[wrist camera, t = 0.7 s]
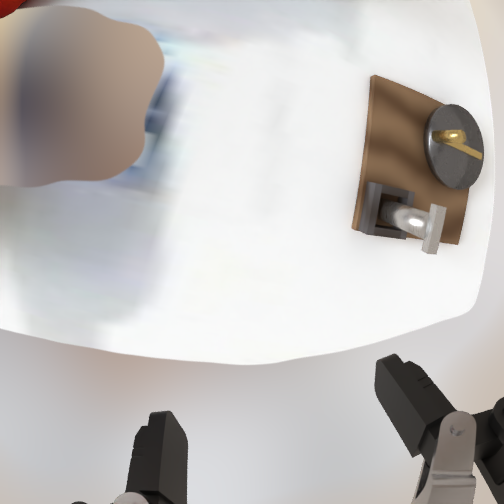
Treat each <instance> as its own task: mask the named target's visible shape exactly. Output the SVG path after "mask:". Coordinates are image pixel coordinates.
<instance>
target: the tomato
mask: <svg viewBox="0 0 504 504" xmlns="http://www.w3.org/2000/svg"><path fill="white" fill-rule="evenodd" d="M25 1H26V0H0V18H3V17H5V16H7V15H9V14H11V13H13V12H14V11H15V10H16V9H17V8H18V7H19V6H20V5H21V4H22V3H23V2H25Z"/></svg>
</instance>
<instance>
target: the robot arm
mask: <svg viewBox="0 0 504 504" xmlns="http://www.w3.org/2000/svg"><path fill="white" fill-rule="evenodd" d="M375 392H376V396H377V398H378V400H379V402H380V403H381V405H382V407H383V408H384V410H385V412H386V413H387V415H388V416H389V418H390V420H391V422H392V423H393V425H394V427H395V428H396V430H397V432H398V433H399V435H400V437H401V438H402V440H403V442H404V444H405V446H406V447H407V449H408V450H409V452H410V454H411V456H412V457H415V456H417V455H419V454H422V456H423V457H424V461H423V464H422V468H421V472H420V476H419V480H418V484H417V487H416V491H415V494H414V497H413V500H412V503H411V504H473V499H474V494H475V488H476V478H475V476H473V475H472V469H473V462H475V463H476V465H477V467H478V468H479V470H480V472H481V474H482V476H483V477H484V479H485V481H486V483H487V484H488V486H489V488H490V490H491V492H492V494H493V496H494V498H495V500H496V501H497V503H498V504H504V397H503V398H501V399H500V400H498V401H497V402H496V404H495V406H494V408H493V409H491V410H487V411H484V412H481V413H478V414H473V415H470V414H469V413H467V412H463V411H457V410H456V409H455V408H454V407H453V406H452V404H451V403H450V402H449V401H448V400H447V398H446V397H445V396H444V394H443V393H442V392H441V391H440V390H439V388H438V387H437V386H436V385H435V384H434V383H433V381H432V380H431V379H430V378H429V377H428V375H427V374H426V373H425V372H424V370H423V369H422V368H421V367H420V366H418V365H416V364H415V363H413V362H411V361H408V362H406V363H403V362H402V360H401V359H400V358H399V356H398V355H396V354H392V355H389V356H387V357H384V358H382V359H379V360H377V362H376V373H375ZM133 448H134V449H133V451H132V458H131V462H130V467H129V473H128V480H127V486H126V491H125V493H124V494H121V495H120V496H118V497H117V499H116V500H115V501H114V503H112V504H187V460H188V441H187V437H186V434H185V432H184V430H183V429H182V428H181V426H180V424H179V423H178V421H177V420H176V418H175V417H174V415H173V414H172V412H171V411H162V412H152V413H151V414H150V416H149V422H148V426H142V427H141V428H140V430H139V431H138V433H137V434H136V436H135V440H134V445H133ZM72 504H86V503H84V502H74V503H72Z"/></svg>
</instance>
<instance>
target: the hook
mask: <svg viewBox="0 0 504 504" xmlns="http://www.w3.org/2000/svg"><path fill="white" fill-rule="evenodd" d="M446 209H447V208H446V207H443V206H439V205H435V204H431V207H430V213H429V212H426V211H423V210H420V209H417V208H414V207H410V206H407V205H404V204H401V203H398V202H394V201H391V200H388V199H384V198H383V199H380V203H379V208H378V214H377V218H378V219H380V220H382V221H384V222H387V223H389V224H391V225H393V226H395V227H398V228H400V229H402V230H404V231H407V232H409V233H411V234H413V235H415V236H417V237H419V238H422V239H424V241H423V245H422V249H421V250H422V251H423V252H425V253H428V254H437V250H438V246H439V242H440V237H441V233H442V228H443V224H444V219H445V214H446Z"/></svg>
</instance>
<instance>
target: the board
mask: <svg viewBox="0 0 504 504" xmlns="http://www.w3.org/2000/svg"><path fill="white" fill-rule="evenodd" d="M442 105H445V104H443V103H441V102H439V101H437V100H434V99H432V98H430V97H428V96H426V95H424V94H422V93H419V92H417V91H415V90H413V89H410V88H408V87H405V86H403V85H401V84H398V83H396V82H393V81H390V80H388V79H385V78H382V77H380V76H377V75H373V76H371V77H370V93H369V106H368V117H367V127H366V136H365V145H364V153H363V160H362V168H361V175H360V181H359V188H358V194H357V200H356V206H355V212H354V217H353V223H352V229H354V230H356V231H361V232H363V233H365V234H367V235H375V236H383V237H390V238H398V239H405V240H406V237H409V238H415V239H422V238H419V237H417V236H415V235H413V234H411V233H409V232H407V231H404V230H402V229H400V228H398V227H395V226H393V225H391V224H389V223H387V222H384V221H382V220H380V219H378V218H377V214H378V208H379V203H380V199H383V198H384V199H388V200H391V201H394V202H398V203H401V204H404V205H407V206H410V207H414V208H417V209H420V210H423V211H426V212H429V213H430V207H431V204H435V205H439V206H443V207H446V208H447V209H446V214H445V219H444V224H443V228H442V233H441V237H440V242H442V243H449V244H455V245H458V243H459V239H460V235H461V230H462V226H463V221H464V216H465V211H466V205H467V200H468V193H469V188H466V189H463V190H457V189H453V188H449V187H446V186H444V185H442V184H441V183H440V182H439V181H438V180H437V179H436V178H435V177H434V175H433V174H432V172H431V170H430V168H429V166H428V164H427V161H426V157H425V153H424V146H423V134H424V128H425V124H426V121H427V118H428V117H429V115H430V113H431V112H432V111H433V110H434V109H435V108H437V107H439V106H442ZM422 240H424V239H422Z"/></svg>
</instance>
